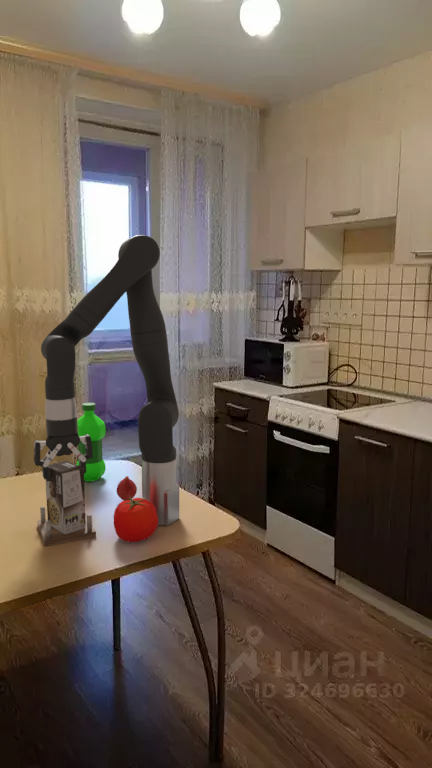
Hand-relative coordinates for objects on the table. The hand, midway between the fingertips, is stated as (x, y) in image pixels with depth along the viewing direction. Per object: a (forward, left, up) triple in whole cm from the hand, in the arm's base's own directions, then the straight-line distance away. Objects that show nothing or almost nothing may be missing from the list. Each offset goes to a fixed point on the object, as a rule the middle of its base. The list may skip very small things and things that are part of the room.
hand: (64, 477), depth 146 cm
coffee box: (0, 0, -13) cm, 13 cm away
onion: (-2, -24, -15) cm, 28 cm away
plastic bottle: (+20, -35, -15) cm, 43 cm away
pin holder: (0, 0, -15) cm, 15 cm away
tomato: (-18, -5, -15) cm, 24 cm away
